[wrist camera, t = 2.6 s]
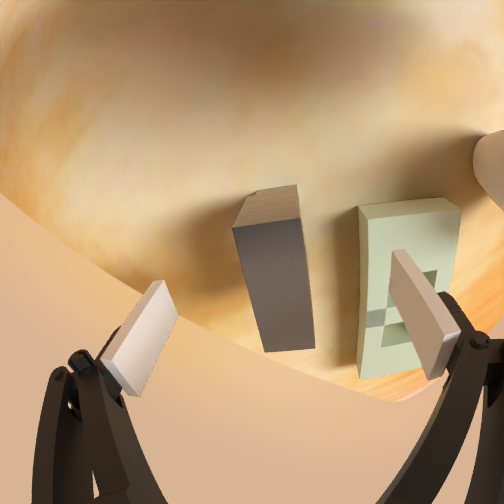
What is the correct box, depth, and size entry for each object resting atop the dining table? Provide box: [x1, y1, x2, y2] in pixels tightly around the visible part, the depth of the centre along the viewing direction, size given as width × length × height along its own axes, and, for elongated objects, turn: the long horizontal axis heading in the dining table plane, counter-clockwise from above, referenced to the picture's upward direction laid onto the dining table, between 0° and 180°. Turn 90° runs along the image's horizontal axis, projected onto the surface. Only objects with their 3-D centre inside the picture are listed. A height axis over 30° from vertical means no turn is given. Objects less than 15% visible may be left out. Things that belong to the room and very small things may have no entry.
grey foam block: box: [232, 185, 315, 352], centre depth 17 cm, size 8×3×9 cm, turn 12°
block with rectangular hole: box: [356, 197, 461, 380], centre depth 21 cm, size 18×8×3 cm, turn 12°
